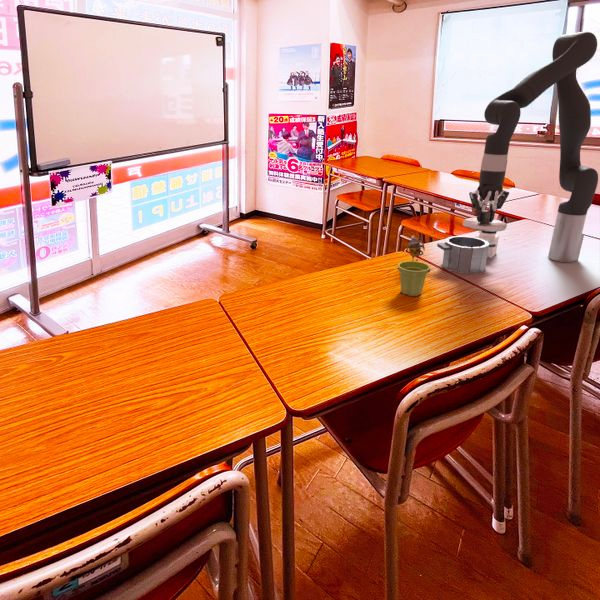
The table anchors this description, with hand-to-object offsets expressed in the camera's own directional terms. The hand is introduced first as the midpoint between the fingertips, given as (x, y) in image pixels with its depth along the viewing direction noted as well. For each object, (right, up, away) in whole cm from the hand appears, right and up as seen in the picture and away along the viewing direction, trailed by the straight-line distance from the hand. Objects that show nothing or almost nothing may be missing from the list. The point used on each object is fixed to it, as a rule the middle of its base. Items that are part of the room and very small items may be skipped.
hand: (484, 221), depth 166 cm
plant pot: (-27, -24, -11) cm, 37 cm away
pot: (-3, -14, +11) cm, 18 cm away
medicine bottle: (+9, -9, +24) cm, 27 cm away
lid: (0, -1, 0) cm, 1 cm away
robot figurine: (-21, -15, +9) cm, 27 cm away
